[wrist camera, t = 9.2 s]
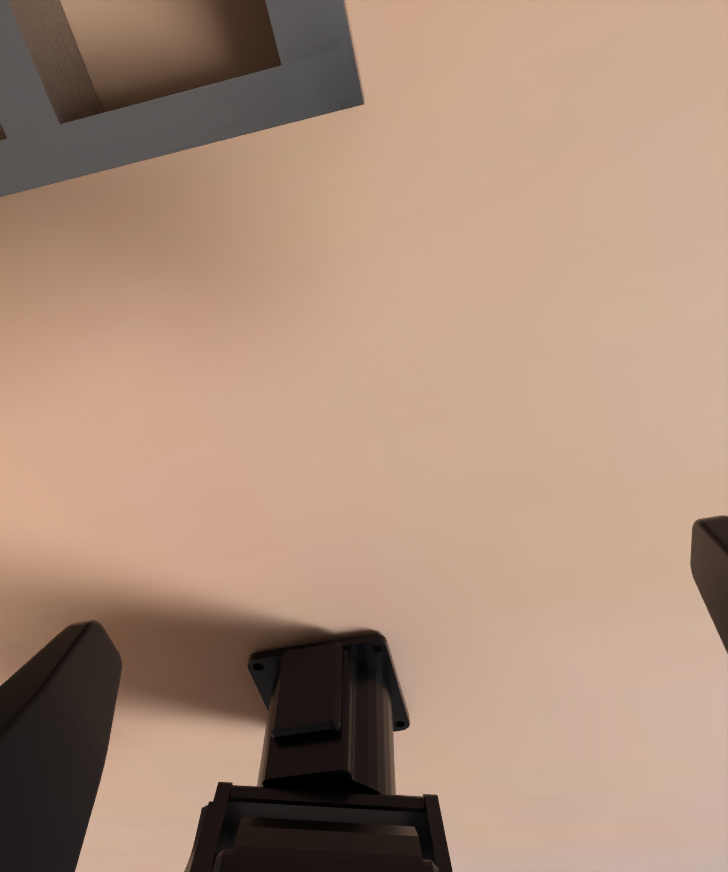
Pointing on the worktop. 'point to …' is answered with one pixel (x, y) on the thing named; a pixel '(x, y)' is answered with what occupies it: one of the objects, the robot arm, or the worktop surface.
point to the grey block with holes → (163, 117)
